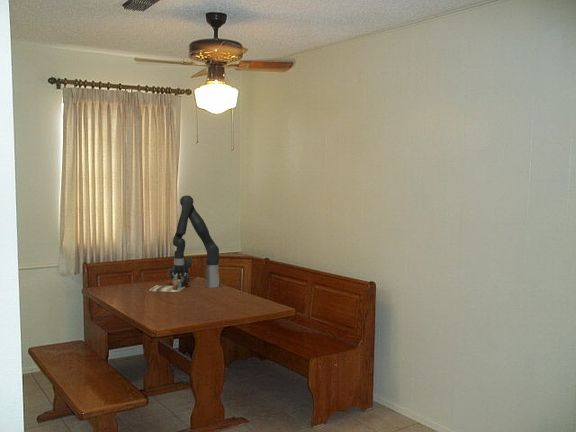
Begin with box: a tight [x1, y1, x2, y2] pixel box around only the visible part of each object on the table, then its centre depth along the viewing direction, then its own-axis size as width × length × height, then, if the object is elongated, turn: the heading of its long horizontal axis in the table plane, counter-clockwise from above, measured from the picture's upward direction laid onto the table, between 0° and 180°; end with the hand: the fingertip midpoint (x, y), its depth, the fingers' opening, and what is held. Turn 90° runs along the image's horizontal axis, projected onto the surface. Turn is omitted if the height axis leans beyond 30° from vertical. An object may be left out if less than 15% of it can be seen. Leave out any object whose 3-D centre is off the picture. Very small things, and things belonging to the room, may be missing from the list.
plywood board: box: [149, 285, 186, 293], centre depth 408 cm, size 23×15×1 cm, turn 86°
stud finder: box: [177, 279, 182, 288], centre depth 410 cm, size 4×6×6 cm, turn 176°
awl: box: [171, 275, 177, 290], centre depth 402 cm, size 4×4×11 cm
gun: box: [166, 256, 194, 285], centre depth 426 cm, size 7×28×20 cm, turn 154°
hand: (179, 286), depth 411 cm, fingers closed on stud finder, 4 cm apart
